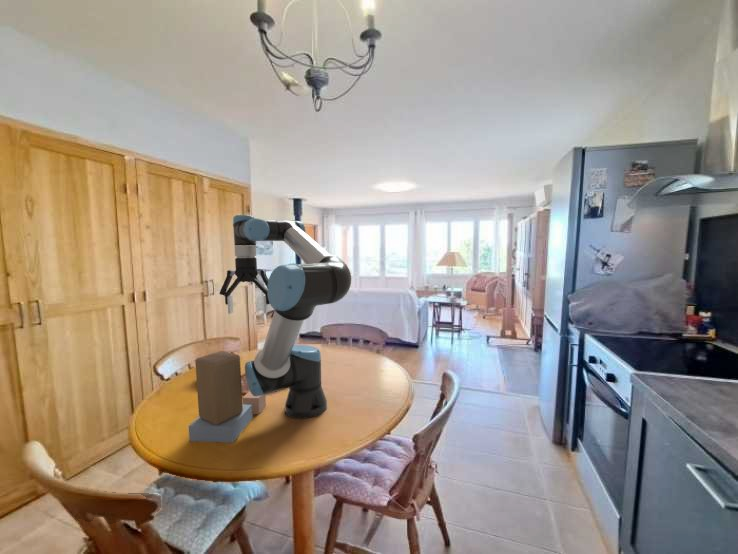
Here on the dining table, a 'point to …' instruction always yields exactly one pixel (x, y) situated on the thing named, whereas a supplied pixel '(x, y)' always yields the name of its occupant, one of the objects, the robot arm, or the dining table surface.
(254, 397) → the terracotta cube
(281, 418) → the dining table surface
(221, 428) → the plinth
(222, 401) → the wooden block
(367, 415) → the dining table surface
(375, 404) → the dining table surface
